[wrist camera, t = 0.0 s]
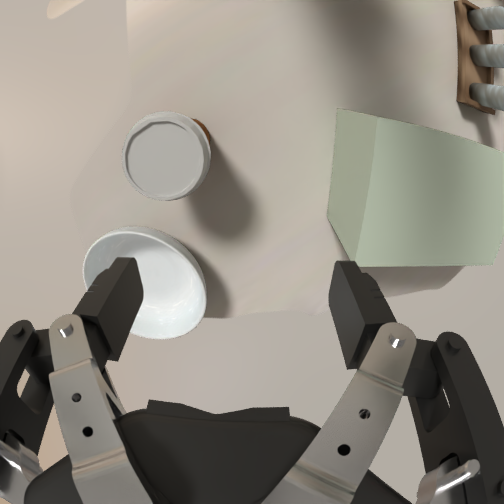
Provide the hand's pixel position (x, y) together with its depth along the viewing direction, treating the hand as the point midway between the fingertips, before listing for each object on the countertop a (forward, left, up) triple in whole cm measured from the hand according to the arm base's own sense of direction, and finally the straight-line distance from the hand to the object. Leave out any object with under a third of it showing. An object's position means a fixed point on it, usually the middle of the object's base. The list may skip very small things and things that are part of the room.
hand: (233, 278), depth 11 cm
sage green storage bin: (+2, +24, -29) cm, 38 cm away
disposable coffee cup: (-1, -8, -30) cm, 31 cm away
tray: (-21, +36, -29) cm, 51 cm away
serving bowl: (+20, -16, -30) cm, 39 cm away
